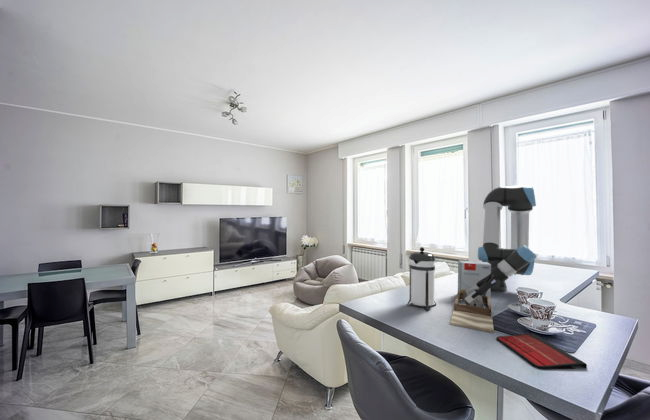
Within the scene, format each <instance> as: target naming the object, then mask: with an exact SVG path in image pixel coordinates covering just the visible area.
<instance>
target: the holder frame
mask: <svg viewBox="0 0 650 420" xmlns="http://www.w3.org/2000/svg"><path fill="white" fill-rule="evenodd" d="M481 297H482V300H483V304H486V305H487V307H485V306H484V307H477V306H471V305H466V304H465V303H460V301H461V300H462V301H465V300H464V296H463V293H459V292H458V291H457V293H456V298H455V300H454V310H455V311H461V312H467V313H473V314H479V315H485V316H491V317H492V303H491V296H490V297H488V296H481Z"/></svg>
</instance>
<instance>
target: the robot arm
mask: <svg viewBox="0 0 650 420" xmlns="http://www.w3.org/2000/svg"><path fill="white" fill-rule="evenodd" d="M534 190H535V189H534V187H533V186H532V185H511V186H498V187H496V188H494V189H492V190H491V191H490V192H489V193H488V194H487V195H486V196H485V198H484V200H483V206H482V208H483V210H484V219H483V220H484V223H483V224H484V225H483V236H482V237H483V238H482V239H483V240H482V246H479V247H477V248H478V249H477V259H478V260H479V262H488V263H489V264H491V273H490V274H489V275H488V276H486V277H485V278H483V279H482V280H480V281H479V282H477V284H476V285H474V286H473V287H472V288H470V289H475V291H474V292H473V293H471V294H470V295H469V296H467V297H466V298H465V300H466V301H467V302H468V303H470V302H472V301H473V300H474V299H476V298H477V297H479V296H480V295H481V296H482V295H483V294H484V293H485V292H486V291H488V290H489V289H490V288H491V291H493V292H506V291H507V290H508V286H507V283H506V281H507V280H508V279H509V278H510V277H512V276H513V275H514V276H515V275H518V276H519V275H520V276H531V275H532V274H533V272H534V268H535V259H537V255H536V253H534V252H533V251H532V250H531V249H530V248H529V247H530V246H529V245H530V244H529V240H530V238H529V236H530V235H529V234H530V232H529V231H530V212H532V211H533V207H536V206H537V203H536V195H535V191H534ZM503 207H507V210H508V211H509V212H510V248H501V247H500V234H501V233H500V228H501V227H500V226H501V225H500V224H501V210H503ZM476 288H479V289H478V290H476ZM470 289H469V290H470ZM491 291H490V292H491ZM465 300H464V301H465Z"/></svg>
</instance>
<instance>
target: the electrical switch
mask: <svg viewBox="0 0 650 420" xmlns="http://www.w3.org/2000/svg"><path fill="white" fill-rule="evenodd" d="M478 289H479V288H476V290H478ZM474 291H475V289H470V290H466V291H464V292H463V296H464V300H463V301H464V304H465V305H471V306H477V307H484V308H485V305H484V304H485V303H483V300H482V297H481V295H480V296H479V297H477V298H476V299H474V300H473V301H472V302H470V303H468V302H467V301H466V300H465V298H466V297H467V296H469V295H470V294H471V293H473V292H474Z"/></svg>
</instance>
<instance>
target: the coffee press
mask: <svg viewBox="0 0 650 420" xmlns="http://www.w3.org/2000/svg"><path fill="white" fill-rule="evenodd" d="M408 259H409V264H408V267H409V300H408V301H407V303H406V305H407V306H408V307H411V306H413V305H416V306H420V307H424V309H425V311H430V306H434V307H436V306H437V302H435V270H436V266H435V262H436V257H435V255H434V254H433V253H430V252H426V251H425V248H424V247H420V248H419V251H414V252H413V251H412V252H411V254H410V255H409V256H408Z"/></svg>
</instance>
